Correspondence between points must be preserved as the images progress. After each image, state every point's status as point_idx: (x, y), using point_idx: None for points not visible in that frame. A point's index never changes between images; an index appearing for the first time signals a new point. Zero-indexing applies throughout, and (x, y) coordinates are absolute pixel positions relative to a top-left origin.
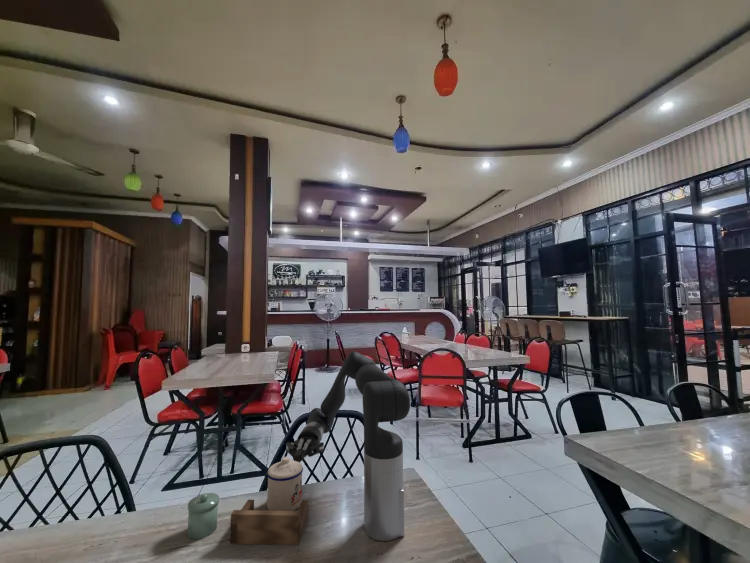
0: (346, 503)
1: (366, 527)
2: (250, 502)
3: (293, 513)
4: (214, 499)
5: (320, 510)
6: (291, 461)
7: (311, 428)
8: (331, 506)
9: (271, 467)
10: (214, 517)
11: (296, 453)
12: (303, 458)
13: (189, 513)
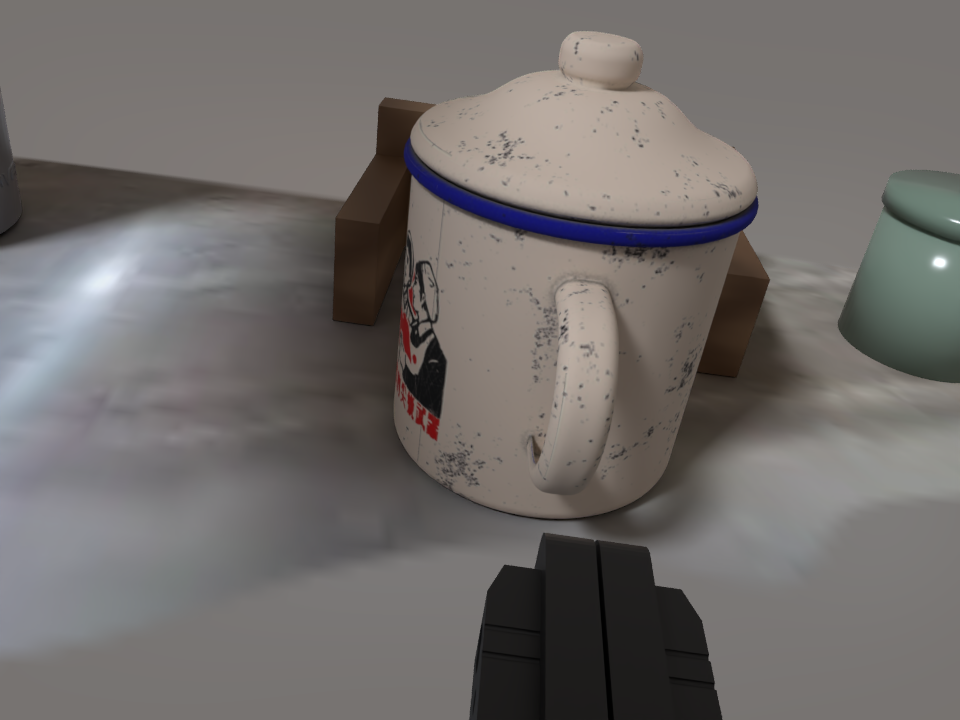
0: (5, 375)
1: (16, 178)
2: (732, 260)
3: (413, 105)
4: (927, 196)
5: (242, 352)
6: (538, 82)
7: None
8: (146, 369)
9: (724, 146)
10: (864, 261)
11: (654, 600)
12: (473, 677)
13: None
